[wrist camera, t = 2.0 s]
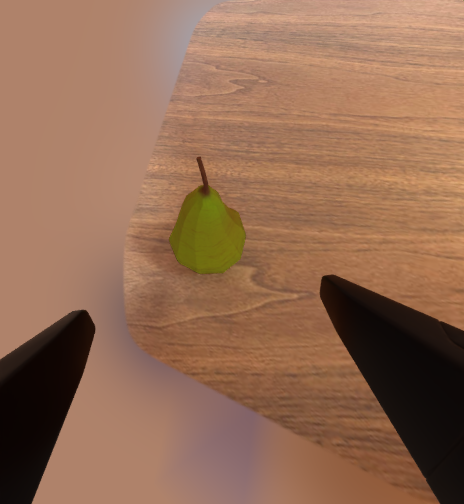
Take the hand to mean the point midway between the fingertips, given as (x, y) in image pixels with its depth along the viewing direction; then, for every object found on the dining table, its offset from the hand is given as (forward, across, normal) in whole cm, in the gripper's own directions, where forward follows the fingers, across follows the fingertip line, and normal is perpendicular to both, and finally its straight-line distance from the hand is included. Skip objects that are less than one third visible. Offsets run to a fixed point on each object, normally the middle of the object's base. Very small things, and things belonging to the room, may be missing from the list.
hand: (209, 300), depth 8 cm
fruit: (+13, 0, +4) cm, 14 cm away
